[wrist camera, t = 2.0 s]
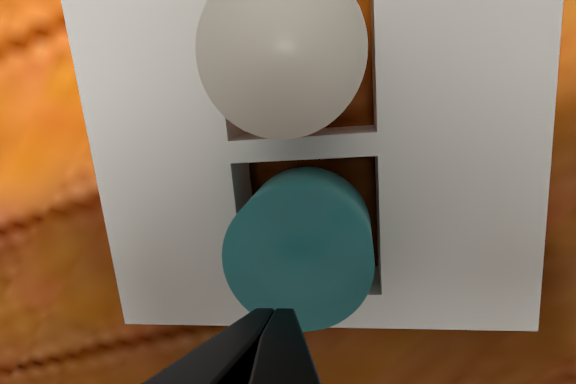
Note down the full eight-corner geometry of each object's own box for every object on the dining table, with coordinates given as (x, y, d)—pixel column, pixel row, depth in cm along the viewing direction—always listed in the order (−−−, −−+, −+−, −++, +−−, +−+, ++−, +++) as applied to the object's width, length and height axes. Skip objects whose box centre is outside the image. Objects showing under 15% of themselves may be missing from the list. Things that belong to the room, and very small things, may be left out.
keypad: (548, -318, 12) (595, -414, 10) (512, 296, 17) (538, 331, 15) (64, -208, 15) (8, -263, 13) (152, 294, 20) (125, 323, 17)
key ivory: (362, -26, 13) (365, -58, 10) (367, 122, 14) (370, 134, 11) (222, -8, 14) (184, -33, 11) (237, 131, 15) (206, 144, 12)
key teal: (368, 163, 14) (372, 185, 11) (372, 283, 16) (377, 333, 13) (241, 169, 15) (212, 191, 12) (254, 283, 16) (230, 330, 13)
